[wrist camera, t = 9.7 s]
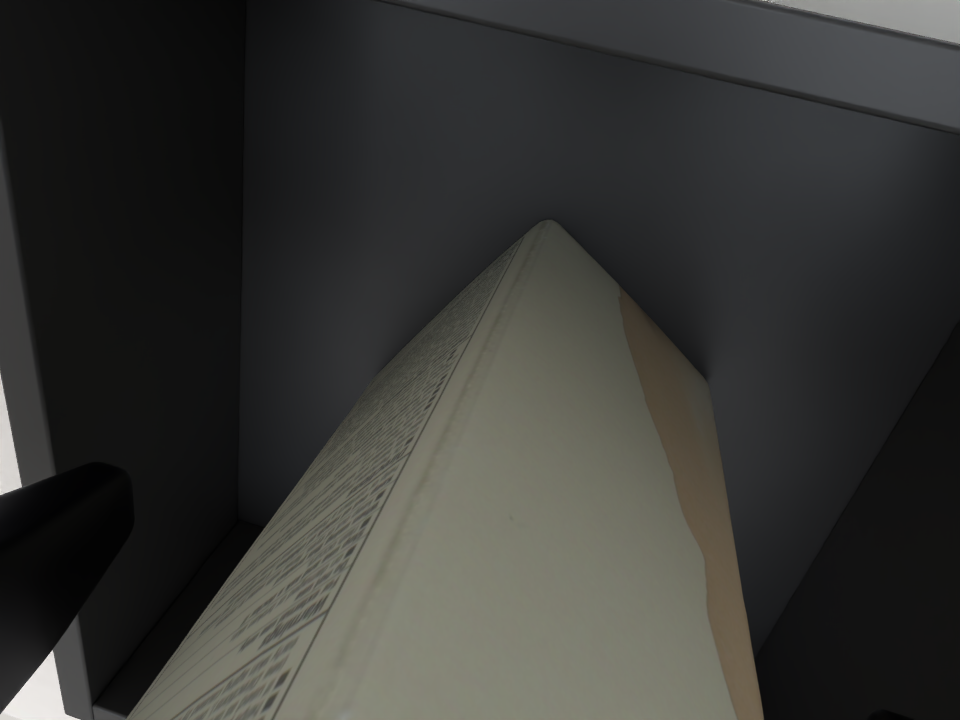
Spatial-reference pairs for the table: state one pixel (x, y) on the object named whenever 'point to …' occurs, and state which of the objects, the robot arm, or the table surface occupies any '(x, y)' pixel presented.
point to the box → (495, 531)
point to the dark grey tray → (466, 254)
